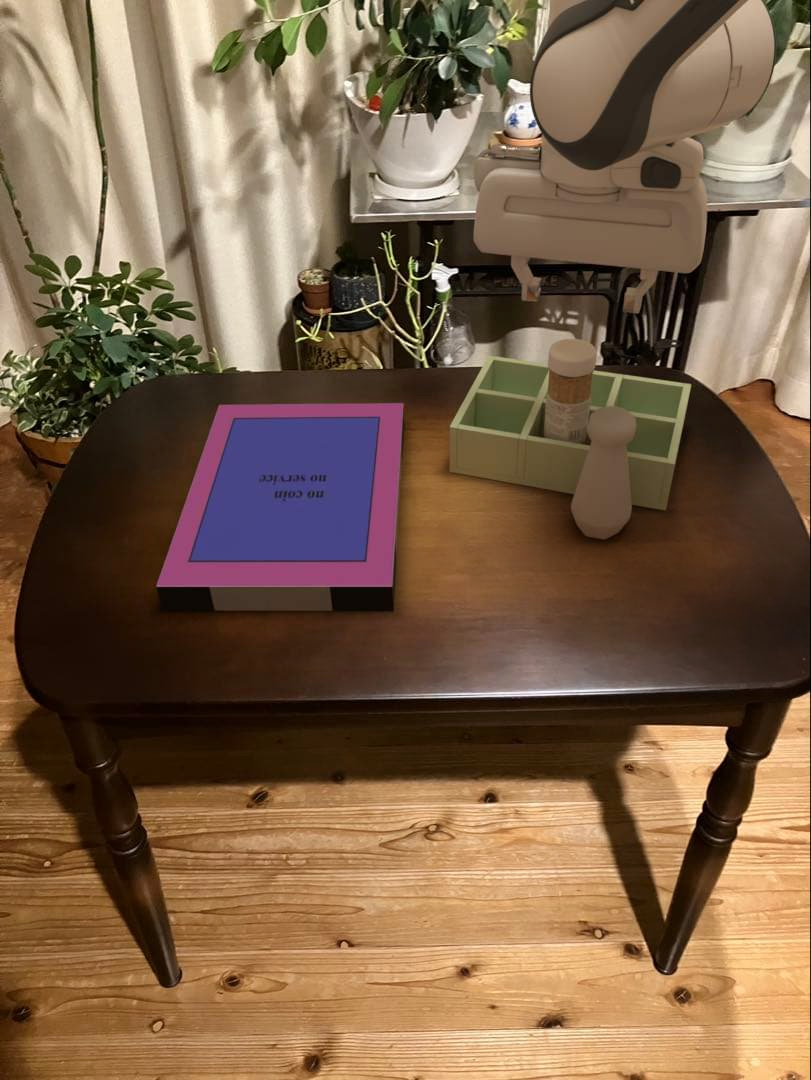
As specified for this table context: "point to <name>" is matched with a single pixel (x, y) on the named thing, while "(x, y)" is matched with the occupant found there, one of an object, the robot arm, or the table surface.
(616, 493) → the salt shaker
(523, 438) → the rack
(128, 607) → the table surface
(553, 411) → the sprinkles bottle
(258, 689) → the table surface
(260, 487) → the book
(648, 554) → the table surface
